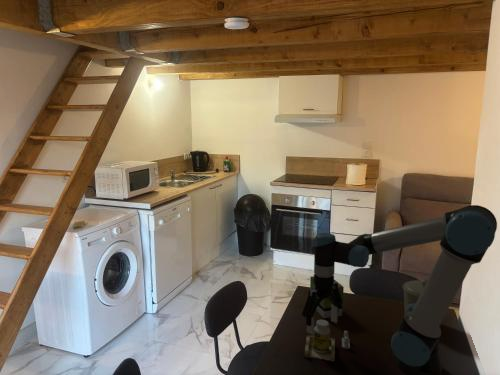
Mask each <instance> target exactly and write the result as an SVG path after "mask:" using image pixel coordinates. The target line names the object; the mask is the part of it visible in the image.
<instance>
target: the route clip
mask: <svg viewBox="0 0 500 375" xmlns="http://www.w3.org/2000/svg"><path fill="white" fill-rule="evenodd" d="M350 344H351V341H350V338H349V331H348V330H344V331H343V337H342V338H341V348H342V349H348V350H350V349H351V345H350Z"/></svg>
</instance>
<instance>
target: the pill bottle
mask: <svg viewBox="0 0 500 375" xmlns="http://www.w3.org/2000/svg"><path fill="white" fill-rule="evenodd" d="M329 324H330V323H329V321H327V320H325V319H318V320H316V325H314V334H313V335H312V336H313V349H314V350H315V351H316V352H319V353H326V352H327V351H328V350H329V340H330V338H331V329H330V327H329V326H330V325H329Z"/></svg>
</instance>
